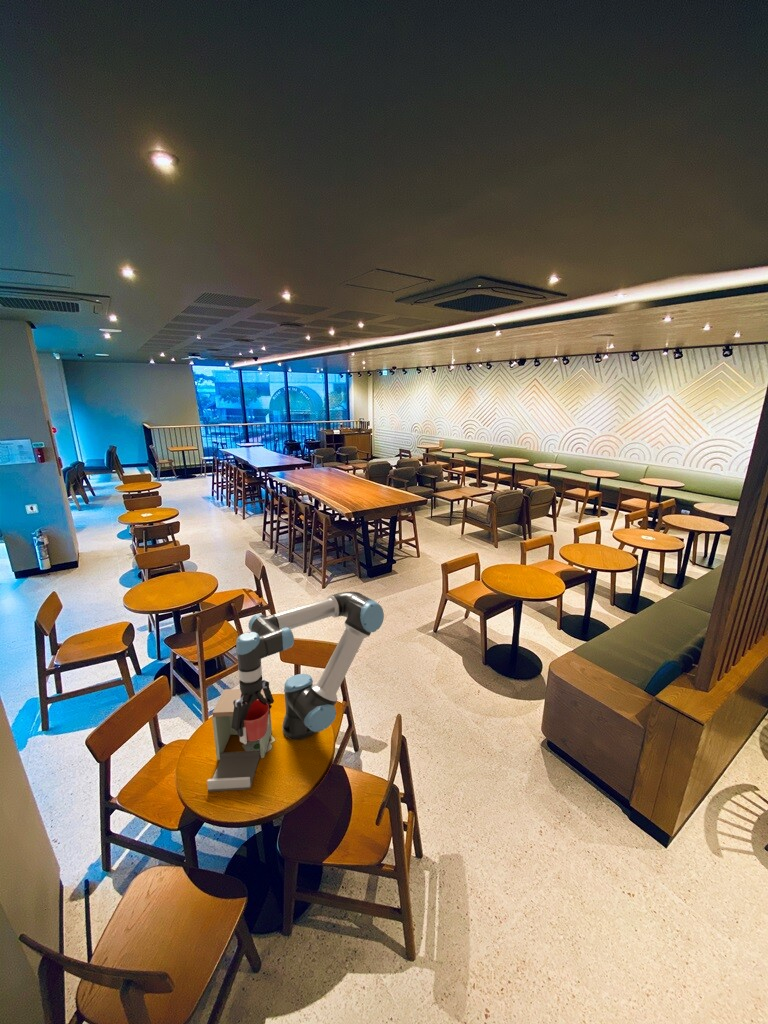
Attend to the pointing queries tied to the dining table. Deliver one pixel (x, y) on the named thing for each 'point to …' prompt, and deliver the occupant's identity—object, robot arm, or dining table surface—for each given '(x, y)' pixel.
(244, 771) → the tray
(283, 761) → the dining table surface
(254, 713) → the flower pot
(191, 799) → the dining table surface
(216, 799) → the dining table surface
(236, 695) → the beige open box
